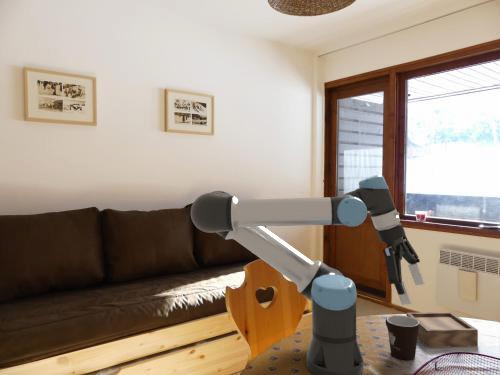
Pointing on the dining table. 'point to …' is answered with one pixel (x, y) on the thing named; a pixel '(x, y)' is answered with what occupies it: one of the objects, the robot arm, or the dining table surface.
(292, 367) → the dining table surface
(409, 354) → the coffee mug
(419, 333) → the wooden tray
